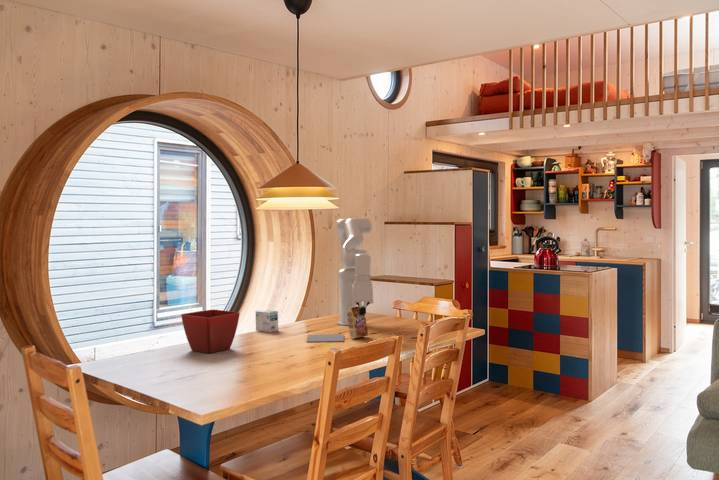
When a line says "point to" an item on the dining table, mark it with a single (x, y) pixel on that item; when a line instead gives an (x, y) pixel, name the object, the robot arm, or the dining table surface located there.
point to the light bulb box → (266, 320)
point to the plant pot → (210, 329)
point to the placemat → (326, 338)
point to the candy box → (356, 323)
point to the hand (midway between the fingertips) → (362, 315)
